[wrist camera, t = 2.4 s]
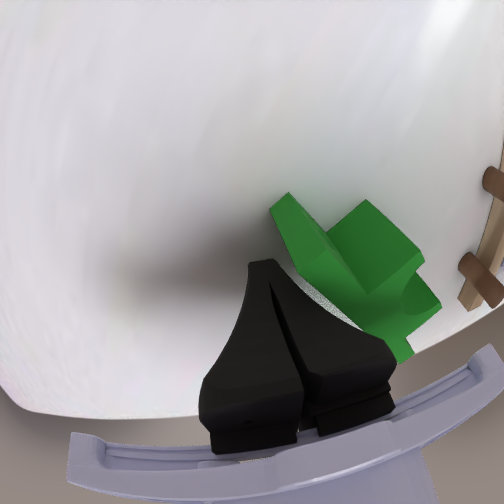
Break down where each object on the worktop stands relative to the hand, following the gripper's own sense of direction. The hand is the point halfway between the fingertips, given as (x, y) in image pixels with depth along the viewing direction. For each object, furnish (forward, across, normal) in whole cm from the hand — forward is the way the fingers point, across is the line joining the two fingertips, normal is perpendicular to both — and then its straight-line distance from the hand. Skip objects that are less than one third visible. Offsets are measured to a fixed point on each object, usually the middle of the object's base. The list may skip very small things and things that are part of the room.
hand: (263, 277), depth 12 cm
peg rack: (+1, -17, 0) cm, 17 cm away
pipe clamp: (+1, -6, +1) cm, 6 cm away
